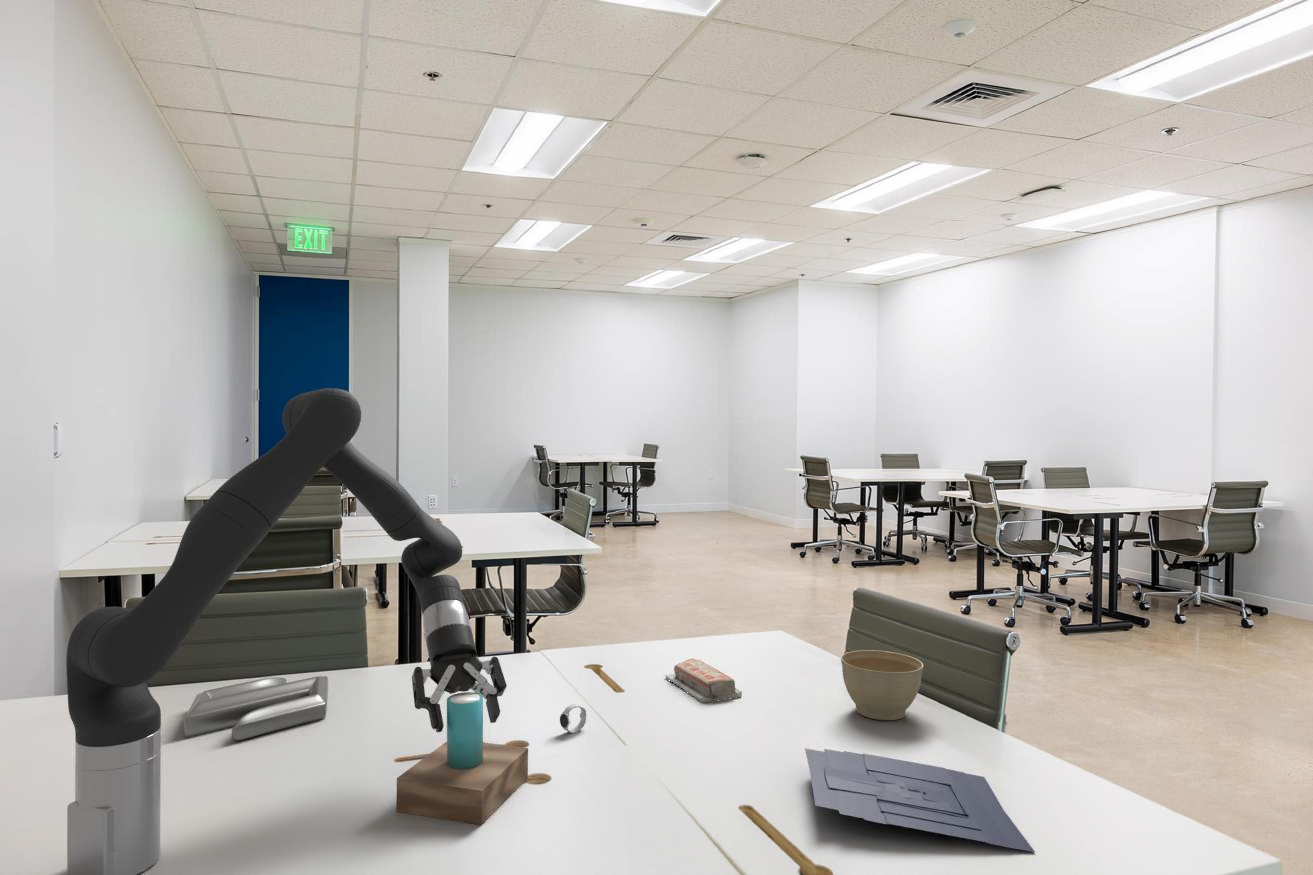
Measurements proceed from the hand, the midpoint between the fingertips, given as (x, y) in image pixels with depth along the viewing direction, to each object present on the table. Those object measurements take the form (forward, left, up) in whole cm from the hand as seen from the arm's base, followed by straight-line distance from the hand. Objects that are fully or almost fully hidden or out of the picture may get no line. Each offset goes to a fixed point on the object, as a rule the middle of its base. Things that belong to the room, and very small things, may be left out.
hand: (467, 725), depth 125 cm
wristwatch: (+30, -6, -11) cm, 32 cm away
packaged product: (+62, -24, -12) cm, 68 cm away
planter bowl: (+58, -62, -11) cm, 86 cm away
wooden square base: (+1, +1, -11) cm, 11 cm away
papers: (+17, -66, -12) cm, 69 cm away
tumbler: (+1, +1, -6) cm, 6 cm away
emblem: (+20, +56, -12) cm, 60 cm away
